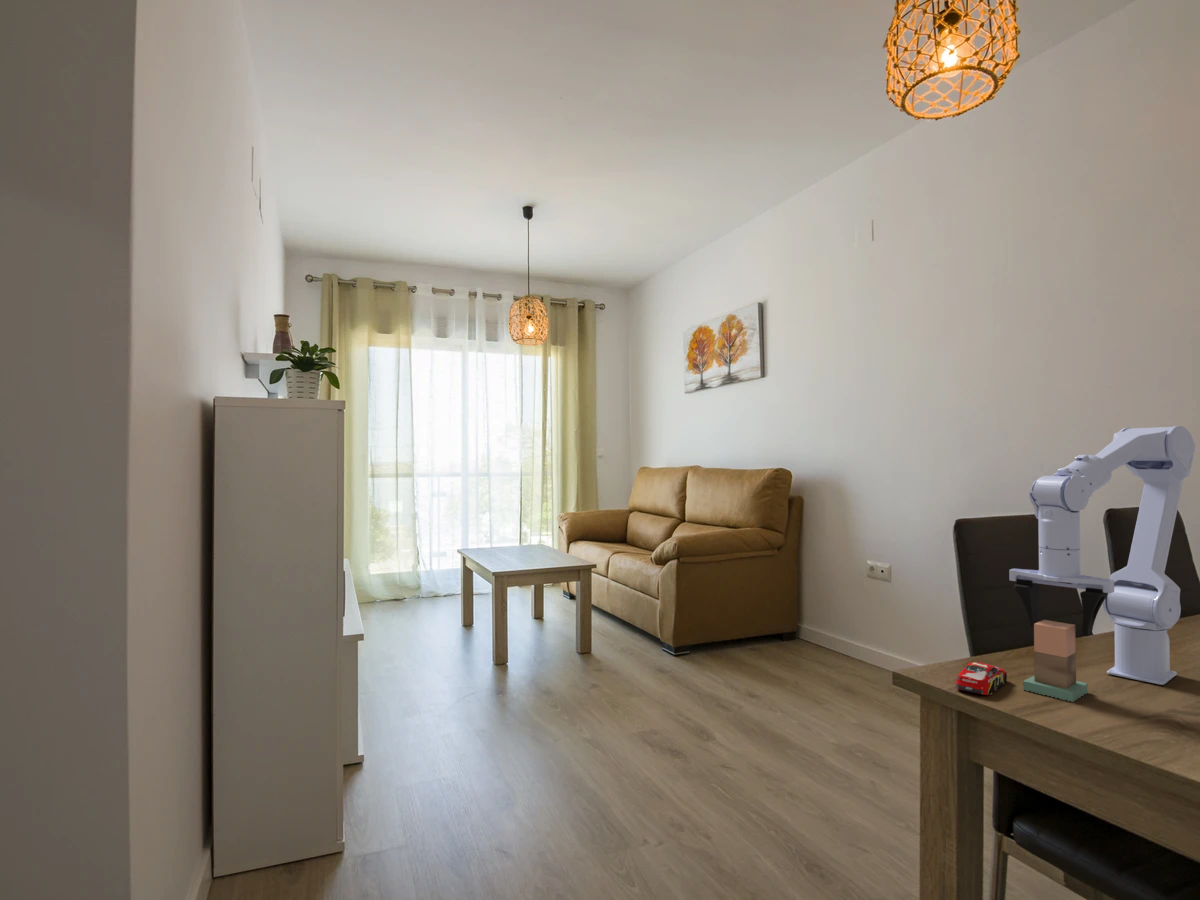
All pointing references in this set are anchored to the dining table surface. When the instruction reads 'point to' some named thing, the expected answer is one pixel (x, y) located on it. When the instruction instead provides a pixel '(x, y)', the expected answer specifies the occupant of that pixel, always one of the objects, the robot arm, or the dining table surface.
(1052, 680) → the walnut brick
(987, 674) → the race car
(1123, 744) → the dining table surface
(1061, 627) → the terracotta brick
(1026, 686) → the base plate
